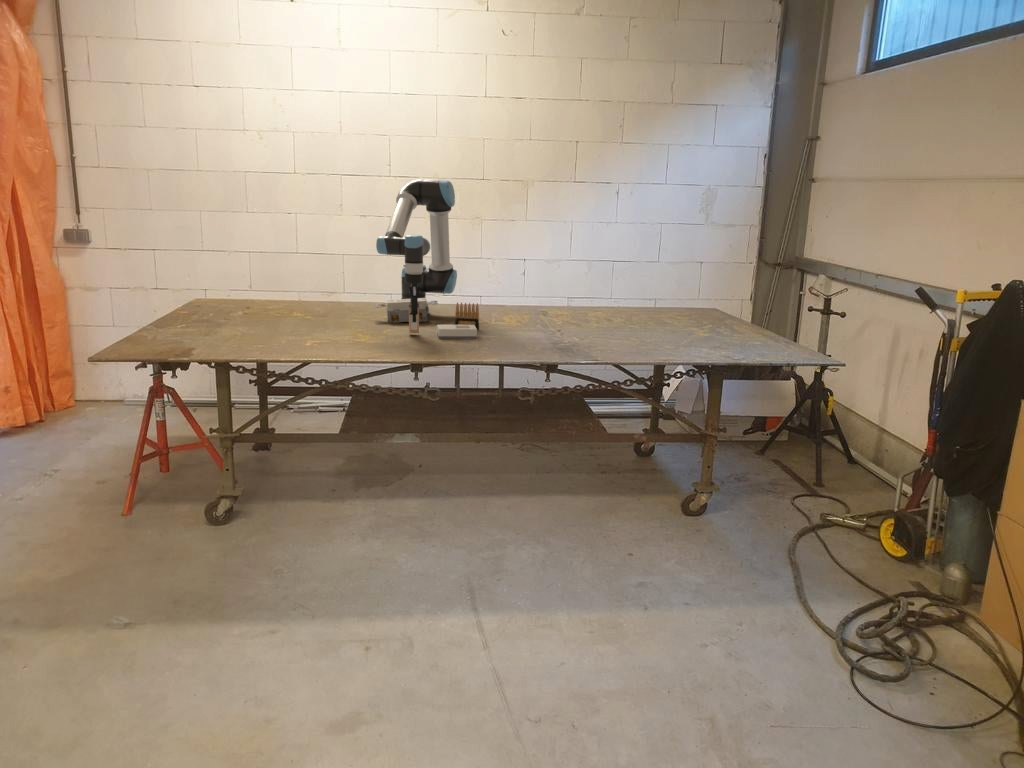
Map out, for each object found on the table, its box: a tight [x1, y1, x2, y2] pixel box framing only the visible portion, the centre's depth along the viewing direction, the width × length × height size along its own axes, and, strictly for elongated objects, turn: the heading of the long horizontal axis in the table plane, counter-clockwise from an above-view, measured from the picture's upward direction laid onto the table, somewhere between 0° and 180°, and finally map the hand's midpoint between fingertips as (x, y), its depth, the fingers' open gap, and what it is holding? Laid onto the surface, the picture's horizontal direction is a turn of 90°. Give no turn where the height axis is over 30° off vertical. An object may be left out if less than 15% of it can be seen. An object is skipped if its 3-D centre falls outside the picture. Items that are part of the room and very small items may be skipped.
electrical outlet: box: [374, 297, 439, 324], centre depth 347 cm, size 12×28×10 cm, turn 98°
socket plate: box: [436, 324, 478, 340], centre depth 318 cm, size 10×16×4 cm, turn 100°
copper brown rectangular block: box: [408, 303, 420, 334], centre depth 316 cm, size 4×4×12 cm
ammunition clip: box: [454, 302, 480, 331], centre depth 332 cm, size 11×2×12 cm, turn 86°
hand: (413, 328), depth 317 cm, fingers closed on copper brown rectangular block, 4 cm apart
